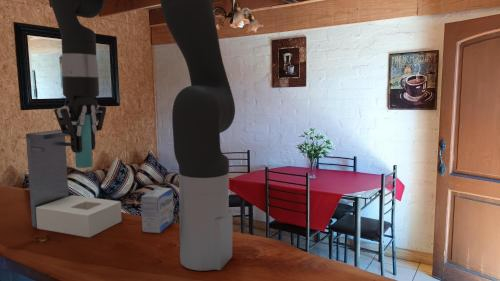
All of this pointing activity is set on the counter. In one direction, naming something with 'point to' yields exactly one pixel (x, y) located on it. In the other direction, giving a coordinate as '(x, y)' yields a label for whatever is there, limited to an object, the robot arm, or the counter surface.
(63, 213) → the socket
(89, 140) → the peg
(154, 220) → the medicine box
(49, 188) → the grey upright panel
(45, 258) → the counter surface
